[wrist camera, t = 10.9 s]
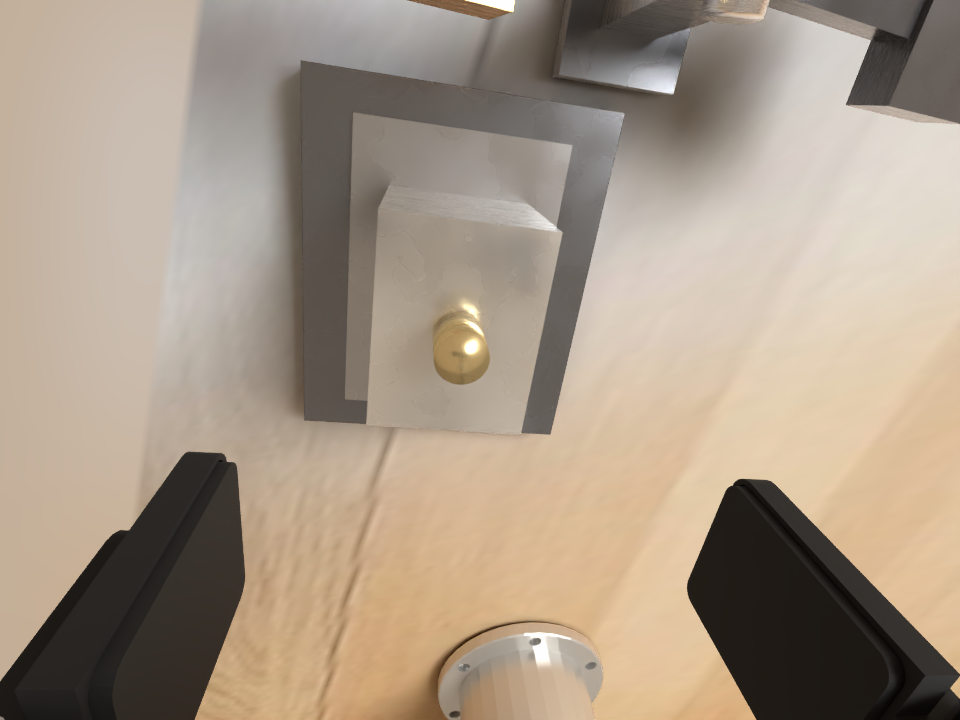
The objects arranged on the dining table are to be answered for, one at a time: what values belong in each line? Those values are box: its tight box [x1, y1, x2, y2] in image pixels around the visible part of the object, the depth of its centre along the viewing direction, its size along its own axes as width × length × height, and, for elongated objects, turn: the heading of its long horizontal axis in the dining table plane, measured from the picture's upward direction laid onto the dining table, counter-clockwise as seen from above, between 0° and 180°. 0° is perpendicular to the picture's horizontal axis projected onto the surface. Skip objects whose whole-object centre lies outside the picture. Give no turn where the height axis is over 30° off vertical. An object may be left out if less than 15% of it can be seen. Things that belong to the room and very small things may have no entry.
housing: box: [366, 186, 563, 435], centre depth 20 cm, size 8×6×8 cm
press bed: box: [301, 0, 710, 435], centre depth 20 cm, size 23×15×7 cm, turn 172°
